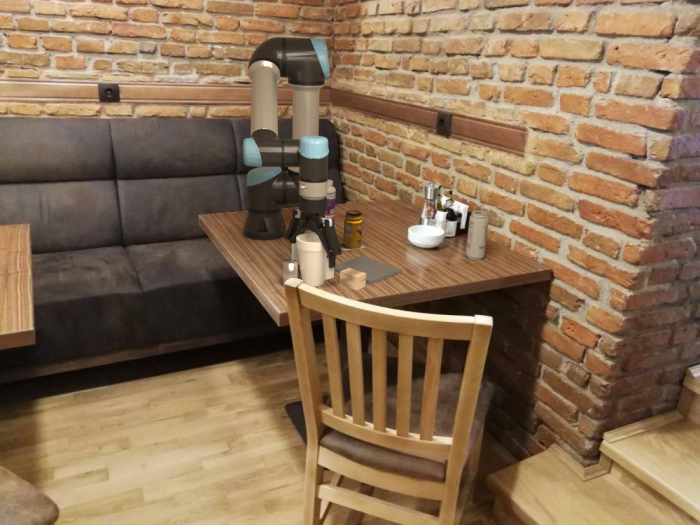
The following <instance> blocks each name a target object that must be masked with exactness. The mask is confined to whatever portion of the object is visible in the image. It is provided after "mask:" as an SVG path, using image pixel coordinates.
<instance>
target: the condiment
mask: <svg viewBox="0 0 700 525" xmlns="http://www.w3.org/2000/svg"><path fill="white" fill-rule="evenodd" d="M362 217H363V216H362V211H360V210H356V209H350V210H346V212H345V218H344V220H343V221H344V222H343V242H341V243H340V242H339V244H340V247H341V250H342V251H344V252H348V251H353V250H361V249H366V248H367V246H364V245H363V244H362V242H363V241H362V240H363V239H362V237H363V219H362Z"/></svg>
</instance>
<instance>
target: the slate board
mask: <svg viewBox="0 0 700 525" xmlns="http://www.w3.org/2000/svg"><path fill="white" fill-rule="evenodd" d="M335 264H336V266H335V267H334V272H337V273H338V274H340V271H343V270H345V269H348V268H351V269H354V270H357V271H360V272H363V273H366V284H367V285H370V286H371V285H373V284H375V283H379V282H381V281H383V280H386V279H387V280H388V279H389V278H392V277H394V276H397V275H399V274H402V272H403V269H402V268H398V267H397V266H396V267H395V266H392V265H390V264H387V263H384V262H381V261H379V260H376V259H372V258H370V257H366V256H364V255H361V256H357V257H354V258H351V259H348V260H345V261H342V262H339V263H335Z"/></svg>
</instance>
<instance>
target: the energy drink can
mask: <svg viewBox="0 0 700 525" xmlns="http://www.w3.org/2000/svg"><path fill="white" fill-rule="evenodd" d="M489 217H490V216H489V213H488V212H487V211H484V210H472V212H471V214H470V216H469V220H468V228H467V229H468V230H467V238H466V246H465V256H466V258H467V259H468V260H473V261H481V260H483V258H484V257H485V254H486V245H487V238H488V231H489V223H490V222H489V221H490V218H489Z"/></svg>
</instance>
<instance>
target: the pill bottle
mask: <svg viewBox="0 0 700 525" xmlns="http://www.w3.org/2000/svg"><path fill="white" fill-rule="evenodd" d="M333 184H334V181H333V180H332V179H328V194H327V196H325V197H326V198H327V210H326V212H325V218H327V219H330V218H333V219H334V217H335V215H336V191H337V190H336V187H334V186H333Z"/></svg>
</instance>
